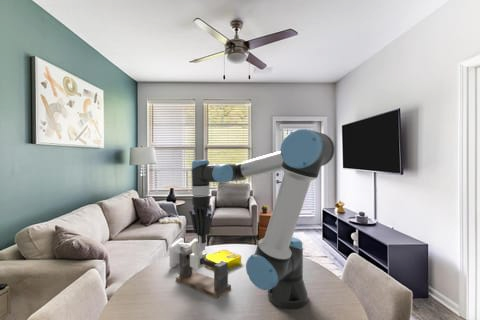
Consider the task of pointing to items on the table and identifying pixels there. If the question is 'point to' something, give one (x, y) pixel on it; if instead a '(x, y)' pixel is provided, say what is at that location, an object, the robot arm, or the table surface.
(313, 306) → the table surface
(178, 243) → the cable organizer
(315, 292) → the table surface
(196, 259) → the sleeve
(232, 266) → the element tile
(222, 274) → the cord rack
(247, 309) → the table surface
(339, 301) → the table surface
